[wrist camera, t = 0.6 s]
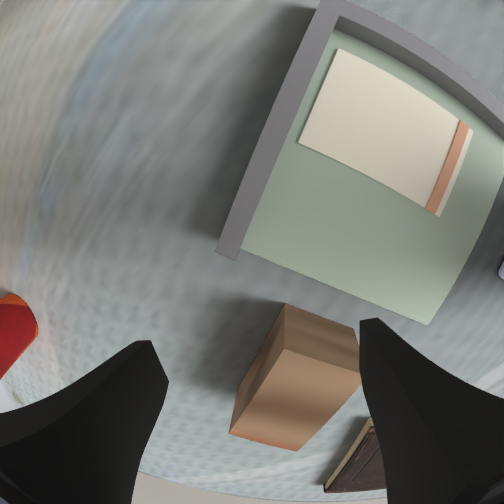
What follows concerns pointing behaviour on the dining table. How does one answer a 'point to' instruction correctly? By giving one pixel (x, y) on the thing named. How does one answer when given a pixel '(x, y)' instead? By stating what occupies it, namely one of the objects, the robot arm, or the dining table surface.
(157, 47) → the dining table surface
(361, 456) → the hardcover book
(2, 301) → the paper cup
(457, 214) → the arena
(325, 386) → the walnut block
